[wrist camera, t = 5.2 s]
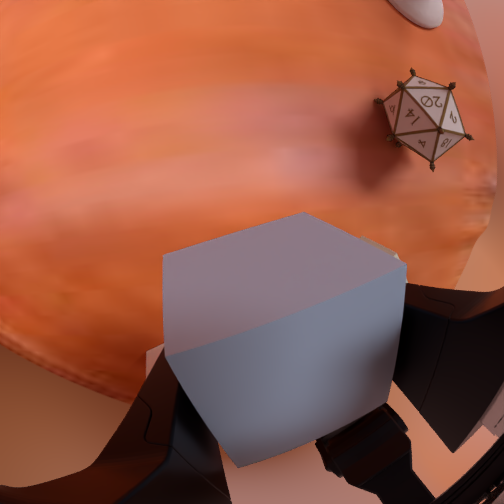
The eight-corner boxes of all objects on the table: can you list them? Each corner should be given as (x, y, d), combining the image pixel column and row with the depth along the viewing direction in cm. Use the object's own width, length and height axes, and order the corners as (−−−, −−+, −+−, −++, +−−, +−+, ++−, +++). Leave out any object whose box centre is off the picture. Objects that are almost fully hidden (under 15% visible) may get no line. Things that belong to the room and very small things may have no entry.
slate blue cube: (318, 323, 12) (387, 401, 7) (207, 364, 11) (238, 468, 6) (303, 211, 10) (406, 263, 5) (162, 255, 9) (165, 356, 4)
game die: (363, 132, 26) (376, 168, 19) (375, 57, 20) (397, 59, 13) (437, 153, 24) (471, 196, 17) (453, 83, 19) (500, 103, 11)
